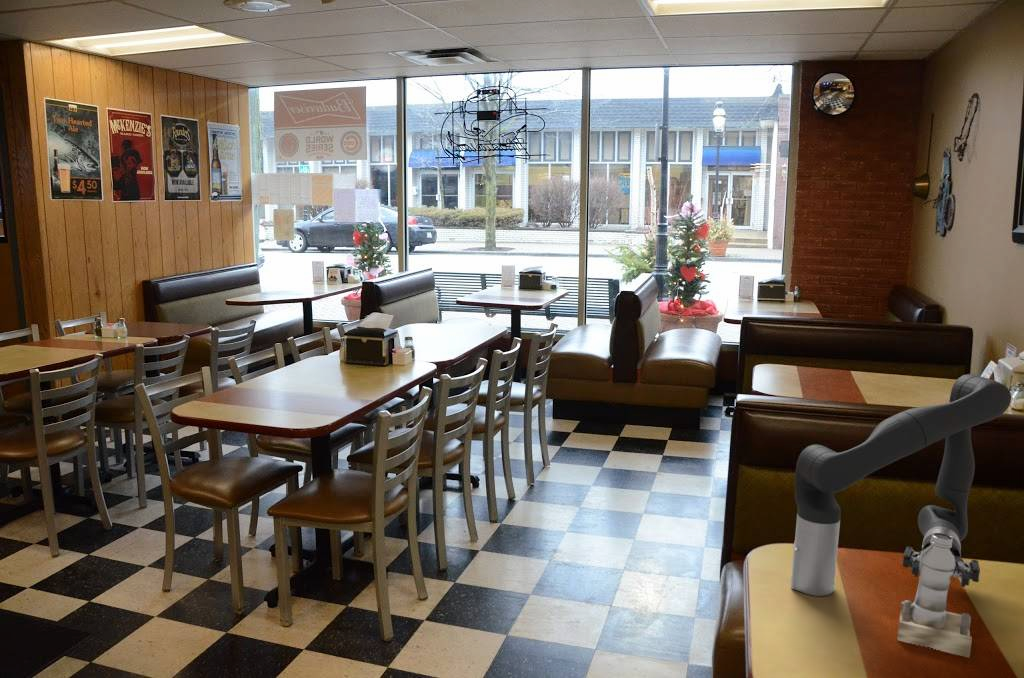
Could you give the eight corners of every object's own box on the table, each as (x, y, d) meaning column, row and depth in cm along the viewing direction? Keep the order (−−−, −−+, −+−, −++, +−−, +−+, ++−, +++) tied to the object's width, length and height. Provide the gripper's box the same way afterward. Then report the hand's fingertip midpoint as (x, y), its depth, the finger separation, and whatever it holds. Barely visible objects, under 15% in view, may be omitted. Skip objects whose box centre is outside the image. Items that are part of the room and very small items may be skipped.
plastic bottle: (948, 637, 167) (966, 545, 163) (913, 632, 168) (929, 540, 164) (938, 622, 173) (955, 532, 169) (904, 616, 174) (920, 527, 170)
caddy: (897, 640, 168) (900, 610, 167) (899, 618, 177) (903, 590, 176) (969, 657, 162) (973, 627, 161) (968, 634, 171) (972, 605, 170)
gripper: (907, 525, 184) (903, 552, 170) (980, 539, 178) (982, 568, 164) (904, 557, 186) (899, 586, 172) (976, 571, 179) (977, 603, 165)
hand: (939, 577), depth 168 cm, fingers open, 8 cm apart
